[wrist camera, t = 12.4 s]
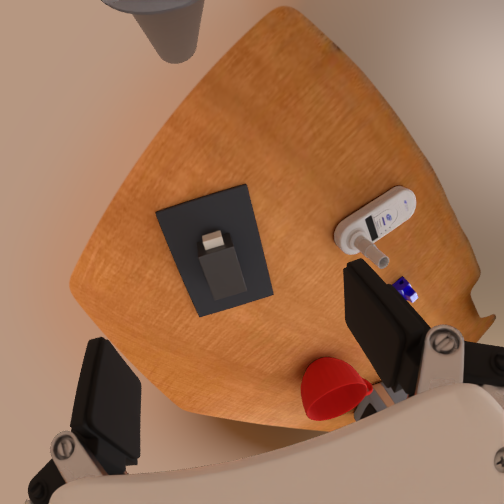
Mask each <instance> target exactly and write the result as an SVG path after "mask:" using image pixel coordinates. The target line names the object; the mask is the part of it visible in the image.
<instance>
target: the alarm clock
mask: <svg viewBox="0 0 504 504" xmlns="http://www.w3.org/2000/svg"><path fill="white" fill-rule="evenodd" d="M372 387H373V391H372V393H371V394H370V395H367V396H365V397H364V399H363V400H362V401H361V402H360V403H359V404H358V406H357V409H356V411H355V413H354V418H355V420H356V421H359V420H361V419H363V418H366V417H368V416H370V415H373V414H375V413H377V412H379V411H382V410H384V409H386V408H388V407H390V406H392V405H394V404H396V403H399V402H401V401H403V400H405V399H407V396H408V394H406V393H405V392H404V390H403V389H402V390H400V391H398V392H396V393H394V392H393V390H392V389H391V387H390V388H386V386H385V385H384V383H383V382H380V383H377V384H375V385H372ZM367 389H368V388H367ZM367 391H369V390H367Z"/></svg>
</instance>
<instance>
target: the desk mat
mask: <svg viewBox="0 0 504 504" xmlns="http://www.w3.org/2000/svg"><path fill="white" fill-rule="evenodd" d="M156 216H157V219H158V221H159V224H160V226H161V229H162V231H163V234H164V236H165V239H166V241H167V244H168V246H169V249H170V251H171V254H172V256H173V258H174V261H175V263H176V265H177V268H178V270H179V272H180V275H181V277H182V279H183V282H184V284H185V286H186V288H187V291H188V293H189V295H190V297H191V300H192V302H193V304H194V306H195V308H196V311H197V313H198V315H199V317H202V316H206V315H209V314H213V313H216V312H220V311H223V310H226V309H230V308H233V307H236V306H239V305H243V304H246V303H249V302H252V301H256V300H259V299H262V298H265V297H268V296H271V295H274V294H273V290H272V285H271V281H270V277H269V273H268V269H267V265H266V261H265V257H264V252H263V248H262V244H261V240H260V236H259V232H258V228H257V224H256V220H255V216H254V212H253V208H252V204H251V200H250V196H249V192H248V188H247V185H246V184H243V185H240V186H236V187H233V188H229V189H226V190H223V191H219V192H216V193H213V194H209V195H206V196H203V197H200V198H197V199H193V200H190V201H187V202H184V203H181V204H178V205H175V206H172V207H169V208H166V209H163V210H160V211H157V212H156ZM216 231H220V232H221V235H223V234H226V233H230V236H231V239H232V242H233V245H234V249H235V252H236V255H237V259H238V262H239V265H240V269H241V272H242V275H243V278H244V282H245V285H246V288H247V291H244V292H241V293H238V294H235V295H231V296H228V297H225V298H221V299H218V300H214V297H213V295H212V292H211V290H210V287H209V284H208V282H207V279H206V277H205V274H204V272H203V269H202V266H201V264H200V261H199V258H198V250H197V242H200V241H203V240H202V236H203V235H207V234H210V233H213V232H216Z"/></svg>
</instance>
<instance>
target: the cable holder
mask: <svg viewBox="0 0 504 504" xmlns="http://www.w3.org/2000/svg"><path fill="white" fill-rule="evenodd" d="M392 286H393V287H394V288H395V289H396V290H397V291H398V292H399V293H400V294H401V295H402V296H403V297H404V298H405V299H406V300H409V301H411V302H412V303H413V302H414V301H415V300H416V299H418V296H417V294H416V292H415V291H414V290H413V289H412V288H411V285H410V283H409V282H408V281H407V280H406V279H405V278H404V277H403V276H402V277H401V278H400V279H399V280H397V281H396V282H395V283H394V284H393V285H392Z"/></svg>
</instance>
